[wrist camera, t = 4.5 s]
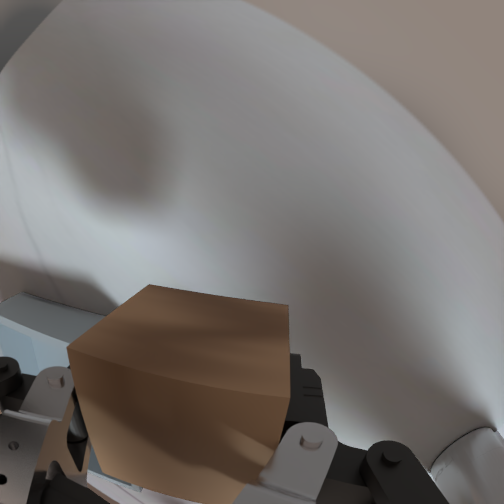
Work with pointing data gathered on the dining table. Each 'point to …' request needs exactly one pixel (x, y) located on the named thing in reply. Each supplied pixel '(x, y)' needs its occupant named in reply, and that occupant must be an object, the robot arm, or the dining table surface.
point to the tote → (46, 343)
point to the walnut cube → (185, 391)
